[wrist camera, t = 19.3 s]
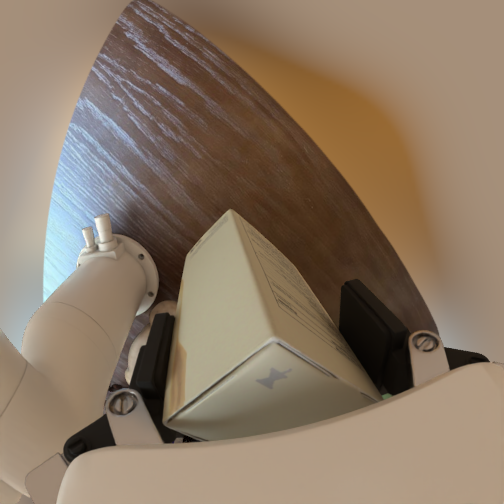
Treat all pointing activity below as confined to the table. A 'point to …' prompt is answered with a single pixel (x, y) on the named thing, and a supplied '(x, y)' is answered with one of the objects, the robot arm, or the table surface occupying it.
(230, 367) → the cosmetic box
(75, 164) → the table surface
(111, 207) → the table surface
